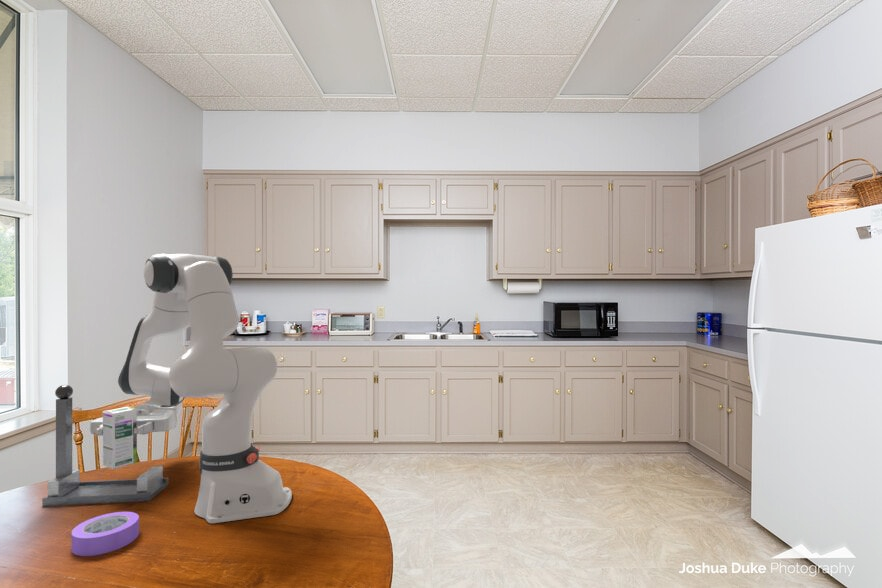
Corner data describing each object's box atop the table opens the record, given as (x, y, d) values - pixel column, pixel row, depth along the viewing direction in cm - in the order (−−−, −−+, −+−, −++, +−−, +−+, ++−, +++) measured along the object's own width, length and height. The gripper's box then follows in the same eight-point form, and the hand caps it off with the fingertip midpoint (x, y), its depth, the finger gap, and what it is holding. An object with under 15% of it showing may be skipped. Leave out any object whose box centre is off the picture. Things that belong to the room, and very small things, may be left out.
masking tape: (72, 538, 99) (72, 521, 99) (136, 522, 106) (136, 506, 106) (70, 564, 90) (70, 544, 90) (141, 544, 97) (141, 526, 97)
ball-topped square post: (81, 485, 123) (81, 382, 123) (60, 498, 115) (60, 387, 115) (67, 486, 123) (67, 382, 123) (45, 499, 115) (45, 388, 115)
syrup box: (113, 469, 117) (113, 413, 117) (102, 465, 120) (102, 410, 120) (137, 462, 122) (137, 408, 122) (126, 458, 125) (126, 405, 125)
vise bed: (168, 484, 127) (168, 464, 127) (149, 501, 117) (149, 478, 117) (70, 489, 124) (70, 468, 124) (42, 506, 114) (42, 483, 114)
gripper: (107, 408, 133) (74, 421, 119) (182, 405, 135) (158, 418, 121) (107, 430, 133) (74, 445, 119) (182, 427, 135) (158, 442, 121)
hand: (117, 431), depth 120 cm, fingers closed on syrup box, 8 cm apart
